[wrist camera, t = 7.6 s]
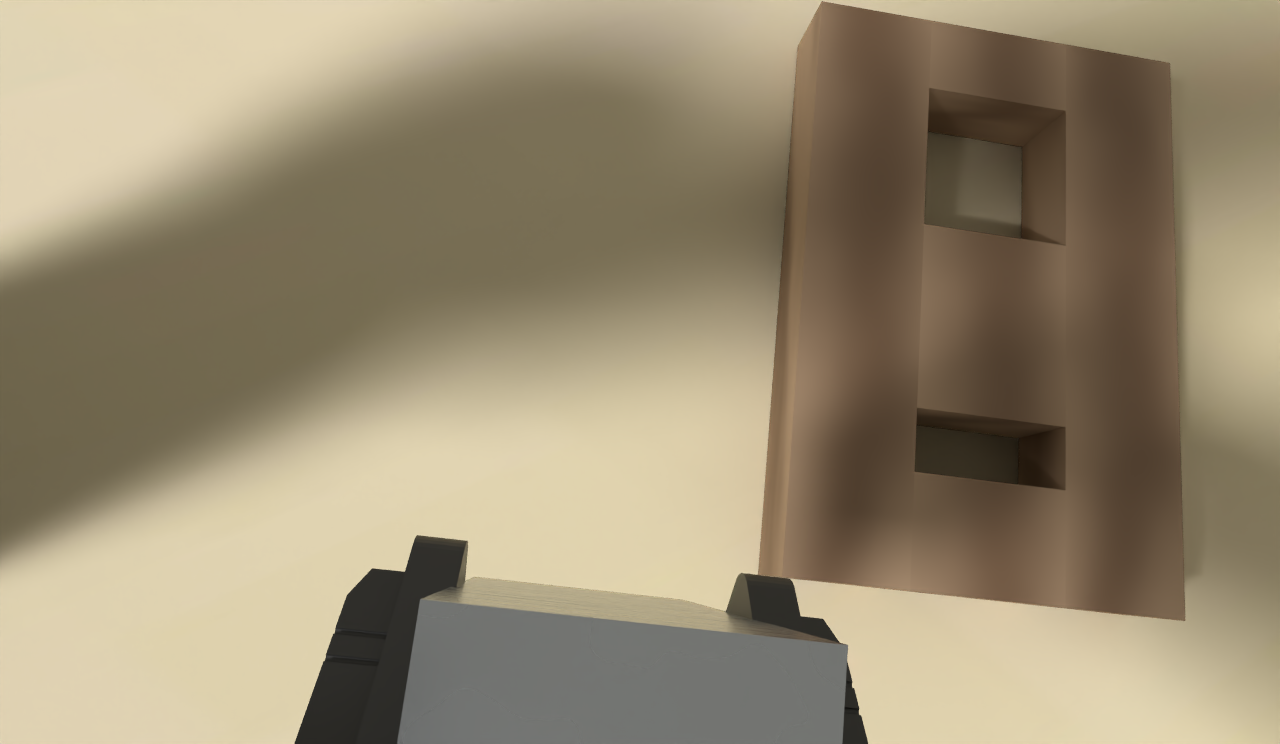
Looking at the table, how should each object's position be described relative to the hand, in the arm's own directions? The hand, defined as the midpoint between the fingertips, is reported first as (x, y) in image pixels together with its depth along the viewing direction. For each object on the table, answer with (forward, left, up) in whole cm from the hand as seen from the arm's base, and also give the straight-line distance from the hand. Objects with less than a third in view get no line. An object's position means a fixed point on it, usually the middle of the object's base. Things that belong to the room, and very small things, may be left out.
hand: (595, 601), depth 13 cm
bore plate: (+12, +13, -18) cm, 25 cm away
